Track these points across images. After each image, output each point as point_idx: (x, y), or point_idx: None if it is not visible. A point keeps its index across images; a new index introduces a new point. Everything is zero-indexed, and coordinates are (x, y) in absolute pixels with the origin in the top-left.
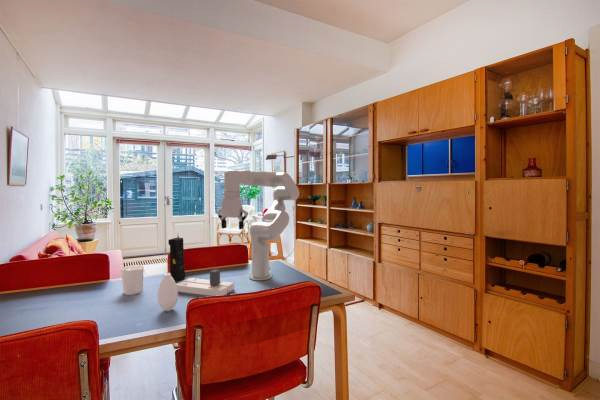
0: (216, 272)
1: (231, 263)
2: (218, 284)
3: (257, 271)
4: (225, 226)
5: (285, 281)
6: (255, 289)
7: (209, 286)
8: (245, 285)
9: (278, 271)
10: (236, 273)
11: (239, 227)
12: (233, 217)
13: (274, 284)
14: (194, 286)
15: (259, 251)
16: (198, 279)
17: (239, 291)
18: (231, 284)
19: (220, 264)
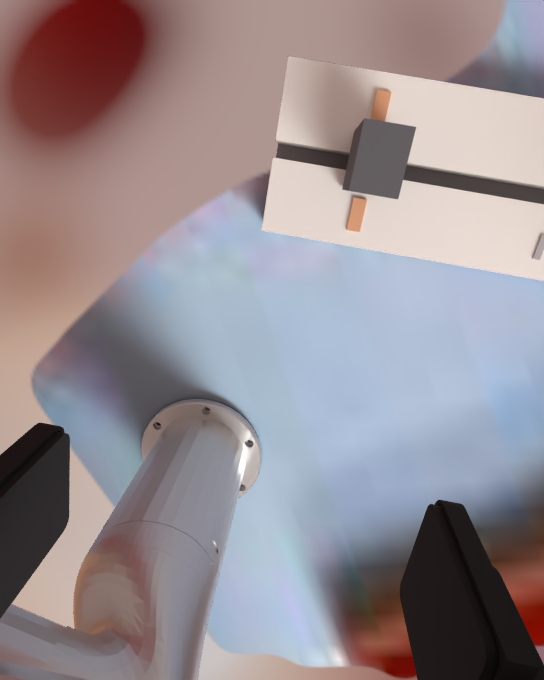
0: (359, 139)
1: None
2: None
3: (192, 436)
4: (411, 588)
5: (57, 405)
6: (160, 264)
7: None
8: (236, 320)
9: None
10: (353, 502)
11: (32, 441)
12: (5, 663)
13: (93, 354)
14: (499, 108)
15: (133, 523)
16: (519, 261)
17: (233, 219)
18: (267, 196)
19: None
